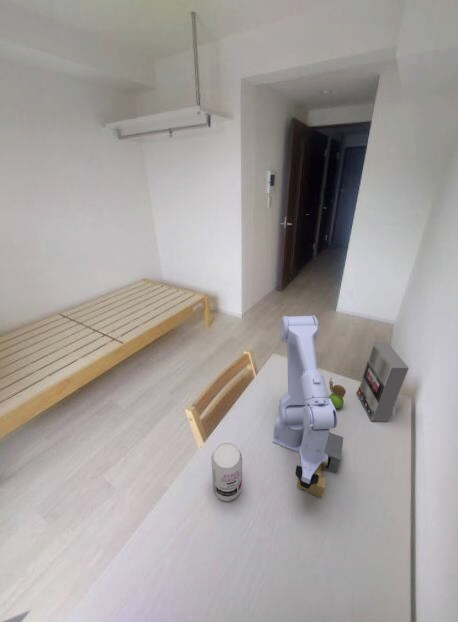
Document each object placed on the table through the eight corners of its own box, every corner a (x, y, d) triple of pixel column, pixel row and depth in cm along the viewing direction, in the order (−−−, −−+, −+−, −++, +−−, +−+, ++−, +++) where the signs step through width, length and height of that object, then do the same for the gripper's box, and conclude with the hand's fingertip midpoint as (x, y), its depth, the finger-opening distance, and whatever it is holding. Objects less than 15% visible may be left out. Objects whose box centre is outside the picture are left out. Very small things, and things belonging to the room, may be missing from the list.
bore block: (302, 460, 84) (305, 446, 81) (307, 439, 90) (310, 425, 87) (336, 474, 80) (340, 459, 77) (339, 451, 87) (343, 437, 83)
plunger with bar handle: (296, 486, 77) (298, 476, 75) (306, 442, 89) (309, 432, 87) (321, 497, 74) (324, 487, 72) (329, 451, 86) (331, 440, 84)
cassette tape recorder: (355, 393, 108) (370, 342, 96) (371, 393, 108) (387, 342, 96) (370, 422, 96) (389, 368, 84) (387, 422, 96) (409, 368, 84)
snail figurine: (327, 397, 107) (332, 373, 101) (343, 404, 103) (350, 380, 98) (322, 405, 103) (327, 382, 97) (339, 413, 100) (346, 389, 94)
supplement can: (227, 467, 83) (226, 435, 75) (247, 487, 77) (248, 454, 70) (207, 486, 78) (204, 454, 70) (227, 509, 72) (226, 477, 65)
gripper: (326, 474, 60) (317, 506, 67) (334, 424, 72) (326, 456, 78) (295, 461, 63) (289, 493, 70) (307, 415, 75) (301, 446, 81)
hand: (307, 472), depth 74 cm, fingers open, 7 cm apart
